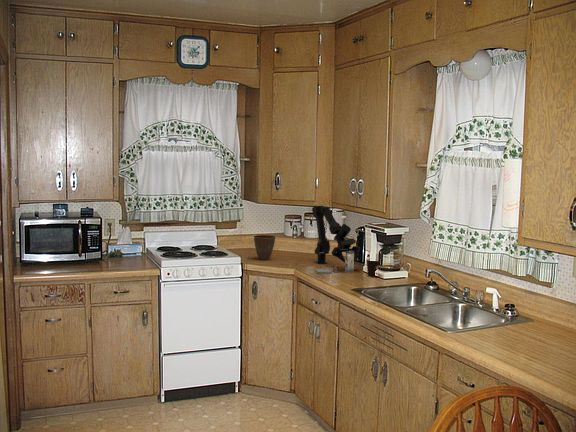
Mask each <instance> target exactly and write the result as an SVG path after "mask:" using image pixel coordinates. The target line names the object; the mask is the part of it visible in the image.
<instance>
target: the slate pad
mask: <svg viewBox="0 0 576 432" xmlns="http://www.w3.org/2000/svg"><path fill="white" fill-rule="evenodd" d="M314 271H315V272H316V274H323V275H325V274H327V275H328V274H333V271H332V270H331V269H330V268H326V269H325V268H315V269H314Z"/></svg>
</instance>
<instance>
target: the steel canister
mask: <svg viewBox="0 0 576 432" xmlns="http://www.w3.org/2000/svg"><path fill="white" fill-rule="evenodd" d="M354 261H355V259H354V251H350V250H348V251H346V252H345V262H344V264H345V267H344V272H345V273H354V270H355V269H354V265H355V264H354V263H355V262H354Z"/></svg>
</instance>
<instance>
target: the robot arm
mask: <svg viewBox="0 0 576 432" xmlns="http://www.w3.org/2000/svg"><path fill="white" fill-rule="evenodd" d="M311 210H312V215H313V216H314V218H315V220H316V221H315V222H316V227H317V237H318V240H317V242H316V247H315V249H314V250H313V251H314V254H316V255H317V257H316V260H315V262H316V263H317V264H327V263H328V262H327V255H329V254H330V250H331V243H330V240H328V239H327V236H326V227H325V221H324V218H325V220H326V222H327V223H328V225H329V226H328V229H329V232H330V234H331V235H334V237H333V241H336V243H337V247H336V246H335V247H333V249H332V250H331V256H334V257H335V258H337V259H339V260H340V261H342V262H343V263H345V260H346V258H345V256H344V255H343V253H346V251H348V250H350V251H354V261H355V262H358V253H359V252H360V250H361V248H360V246H358V245H354V244H355V243H356V240H355V238H354V237H352V238H347V239H346V237H347V236H348V235H349V234H350V232H351V231H352V229H351V227H350V226H349V225H347V224H346V223H343V224H342V225H341V224H340V223H339V222H338V221H336V219H335V218H334V215H333V214H332V212H331V210H330V207H329V206H324V205H313V207H312V208H311ZM352 245H354V246H352ZM351 247H352V248H351Z"/></svg>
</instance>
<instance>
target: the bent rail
mask: <svg viewBox="0 0 576 432" xmlns="http://www.w3.org/2000/svg"><path fill="white" fill-rule="evenodd" d="M340 268H341V266H340V265H339V264H336V265H335V266H333V271H332V273H334V274H338V272H340V271H341V270H340Z"/></svg>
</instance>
